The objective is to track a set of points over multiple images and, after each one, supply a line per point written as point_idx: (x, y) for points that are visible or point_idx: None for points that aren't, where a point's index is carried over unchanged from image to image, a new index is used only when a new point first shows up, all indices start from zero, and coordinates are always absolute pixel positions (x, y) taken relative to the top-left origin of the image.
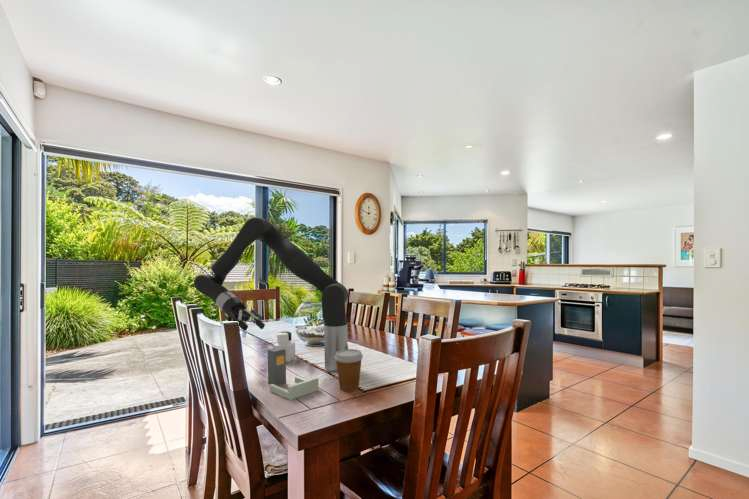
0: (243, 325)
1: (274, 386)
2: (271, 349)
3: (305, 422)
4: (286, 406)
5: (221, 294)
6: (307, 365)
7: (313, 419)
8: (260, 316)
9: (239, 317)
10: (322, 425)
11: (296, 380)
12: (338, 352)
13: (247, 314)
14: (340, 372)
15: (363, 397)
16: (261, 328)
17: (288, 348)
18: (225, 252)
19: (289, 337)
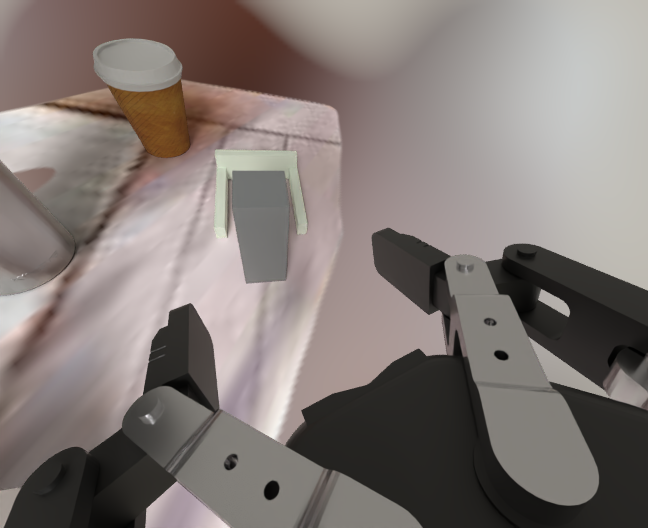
0: (410, 236)
1: (303, 208)
2: (276, 197)
3: (316, 118)
4: (314, 161)
5: None
6: (46, 363)
7: (303, 116)
8: (43, 498)
9: (478, 291)
10: (303, 103)
11: (226, 226)
12: (143, 71)
13: (332, 463)
14: (183, 104)
15: (189, 113)
16: (209, 337)
17: None
18: None
19: None
